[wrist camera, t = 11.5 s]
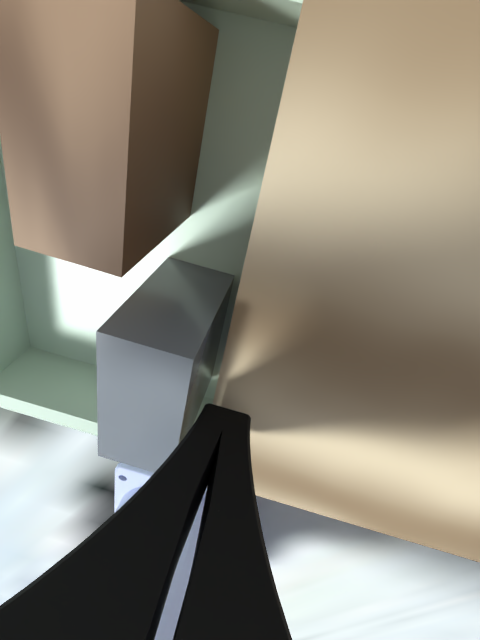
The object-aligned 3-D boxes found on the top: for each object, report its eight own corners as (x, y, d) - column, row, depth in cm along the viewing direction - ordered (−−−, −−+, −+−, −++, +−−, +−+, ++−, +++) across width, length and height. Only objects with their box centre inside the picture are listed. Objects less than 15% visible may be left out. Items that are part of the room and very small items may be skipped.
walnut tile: (121, 277, 8) (14, 245, 8) (190, 215, 12) (119, 195, 12) (137, -30, 5) (-27, -75, 5) (219, 29, 9) (127, 4, 9)
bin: (219, 404, 17) (199, 466, 14) (25, 348, 18) (-33, 397, 15) (318, -6, 9) (318, -57, 6) (-48, -89, 9) (-213, -174, 7)
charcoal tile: (171, 478, 11) (98, 455, 11) (211, 376, 16) (157, 360, 16) (193, 359, 9) (96, 331, 9) (234, 275, 13) (168, 256, 13)
